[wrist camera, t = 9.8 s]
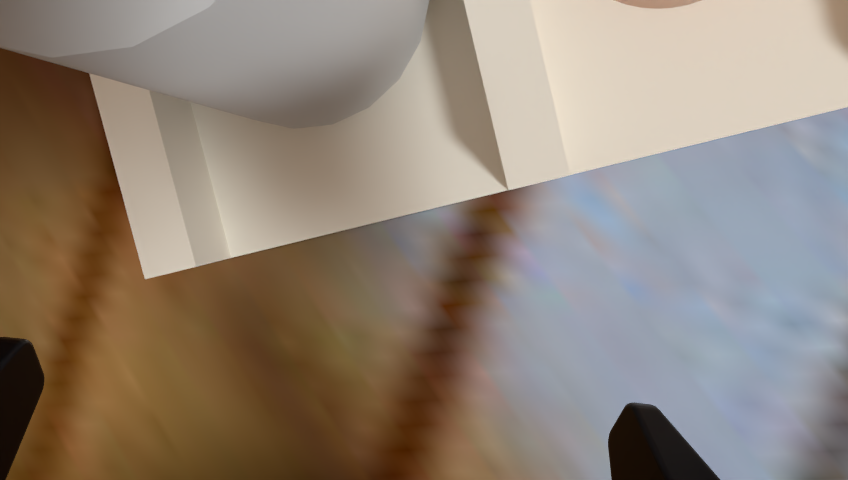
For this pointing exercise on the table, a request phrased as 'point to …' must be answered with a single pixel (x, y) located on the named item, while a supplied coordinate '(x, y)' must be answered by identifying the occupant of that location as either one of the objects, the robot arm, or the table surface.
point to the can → (230, 50)
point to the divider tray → (471, 118)
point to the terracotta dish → (657, 3)
